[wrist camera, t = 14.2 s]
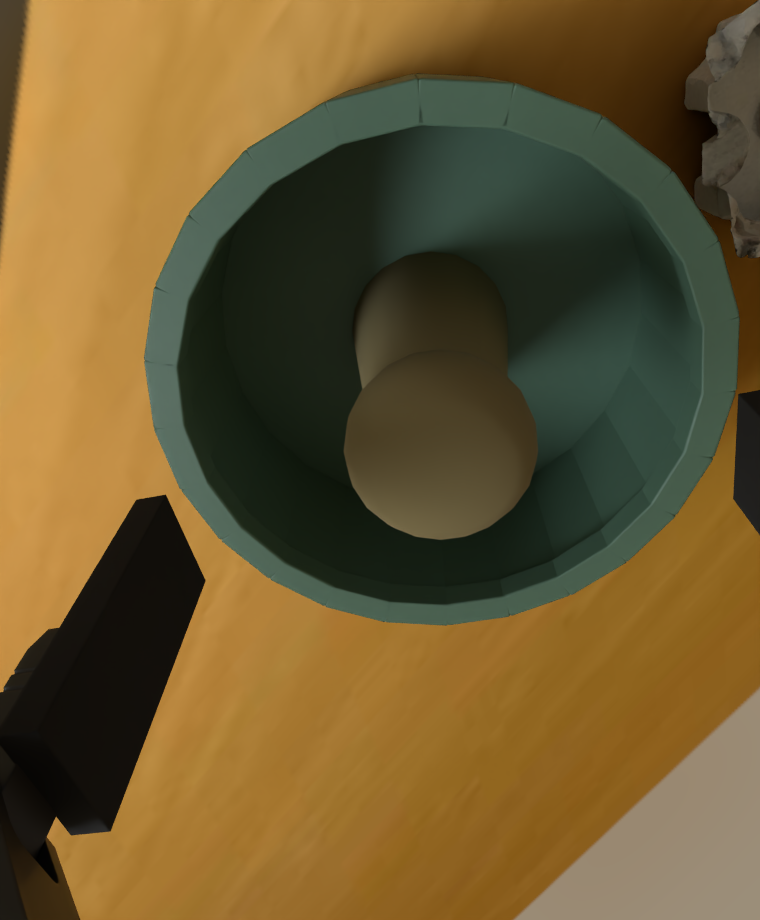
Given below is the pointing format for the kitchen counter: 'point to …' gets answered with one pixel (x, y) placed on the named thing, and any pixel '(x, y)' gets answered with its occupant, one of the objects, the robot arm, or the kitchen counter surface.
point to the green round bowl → (529, 340)
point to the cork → (437, 401)
